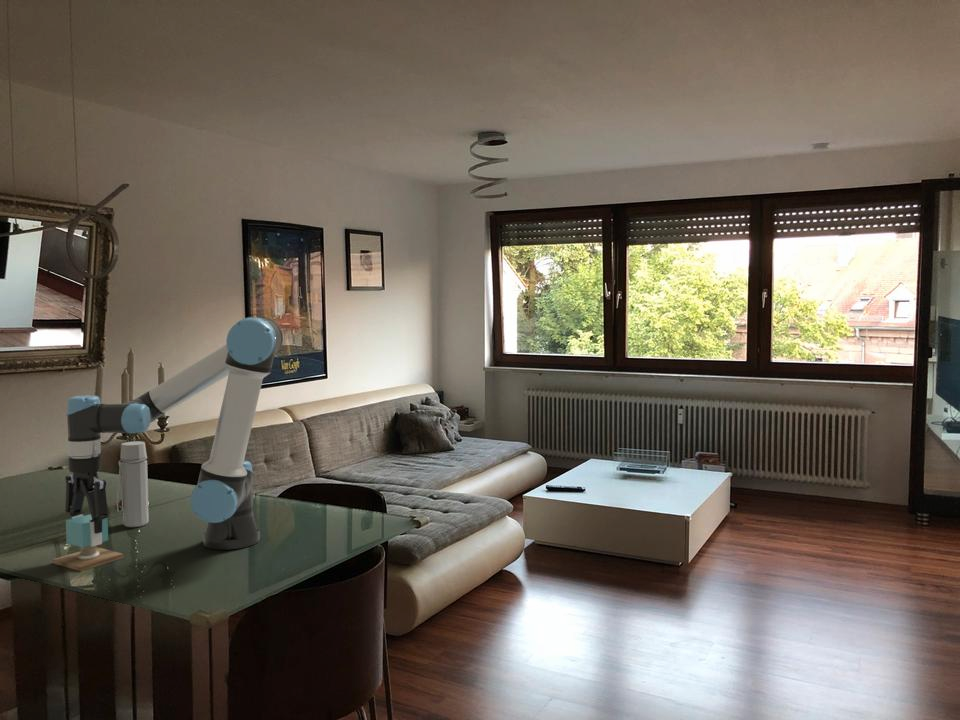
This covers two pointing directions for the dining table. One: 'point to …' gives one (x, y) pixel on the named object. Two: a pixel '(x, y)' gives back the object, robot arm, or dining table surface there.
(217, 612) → the dining table surface
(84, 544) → the teal block
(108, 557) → the wooden peg stand
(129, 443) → the water bottle
